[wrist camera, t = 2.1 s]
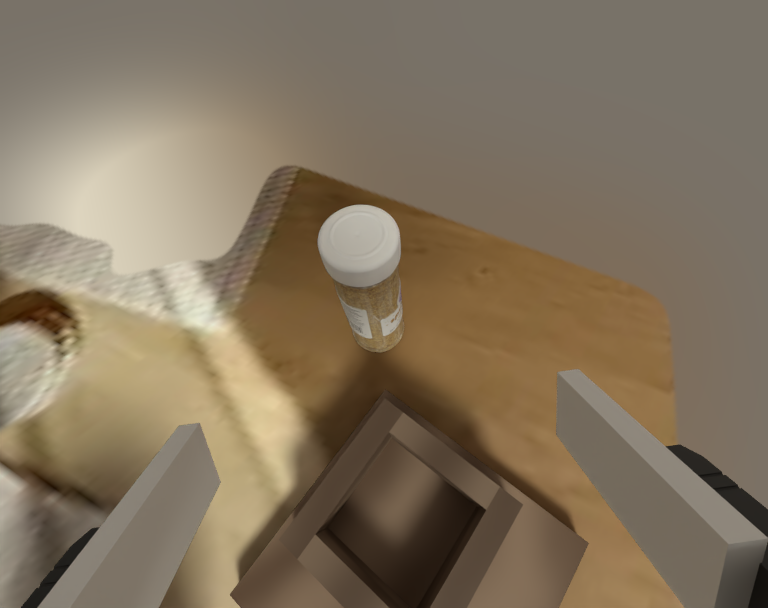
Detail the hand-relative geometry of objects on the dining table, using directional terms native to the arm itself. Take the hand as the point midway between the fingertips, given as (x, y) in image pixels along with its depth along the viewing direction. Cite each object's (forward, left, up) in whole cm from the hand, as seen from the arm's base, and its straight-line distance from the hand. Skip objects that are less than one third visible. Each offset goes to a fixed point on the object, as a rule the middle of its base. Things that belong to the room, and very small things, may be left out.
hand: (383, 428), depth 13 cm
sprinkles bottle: (-7, +7, -15) cm, 19 cm away
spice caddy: (+5, -5, -15) cm, 17 cm away
